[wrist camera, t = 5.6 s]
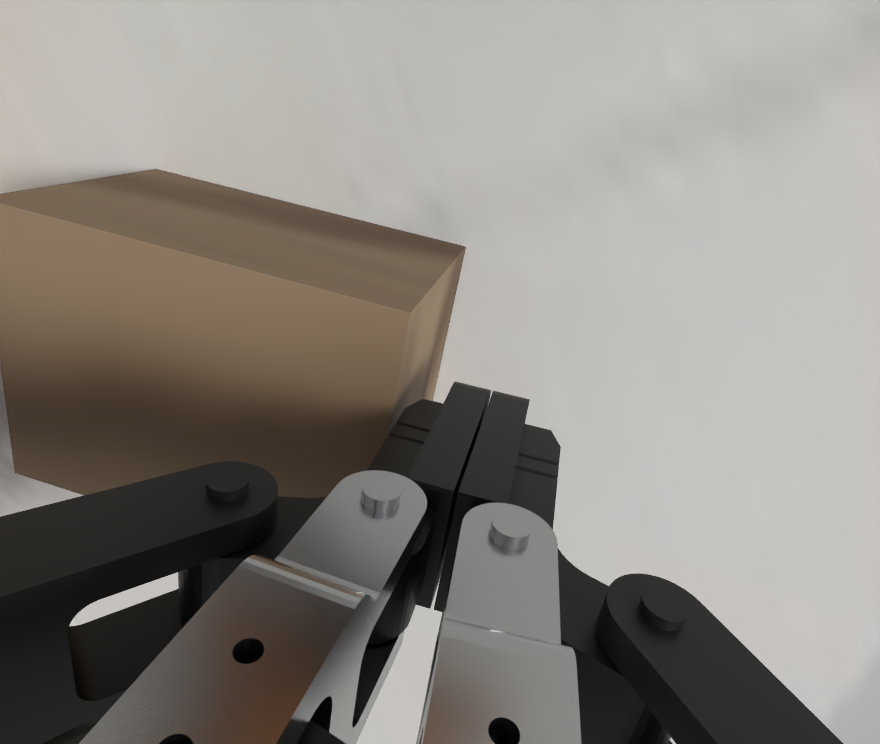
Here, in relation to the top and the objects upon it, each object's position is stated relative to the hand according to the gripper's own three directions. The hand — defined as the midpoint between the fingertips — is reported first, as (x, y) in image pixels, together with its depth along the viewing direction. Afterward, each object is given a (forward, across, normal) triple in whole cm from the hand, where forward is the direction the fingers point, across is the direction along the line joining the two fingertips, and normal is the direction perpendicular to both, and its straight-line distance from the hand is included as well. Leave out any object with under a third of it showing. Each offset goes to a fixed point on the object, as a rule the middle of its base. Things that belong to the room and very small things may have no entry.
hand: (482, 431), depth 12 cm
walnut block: (+4, +6, 0) cm, 7 cm away
